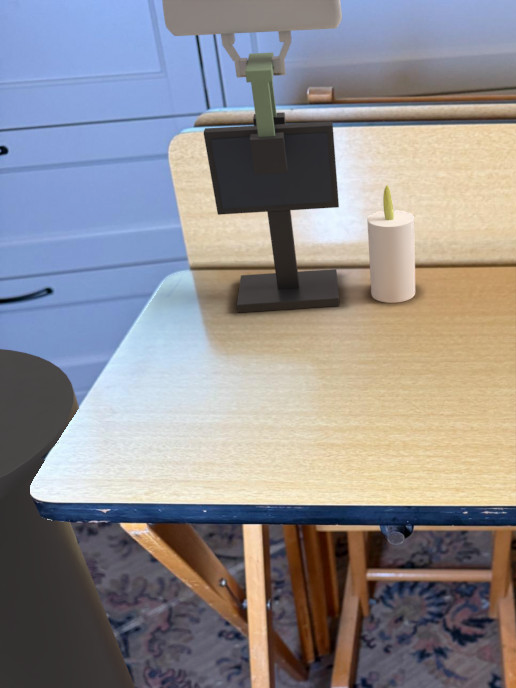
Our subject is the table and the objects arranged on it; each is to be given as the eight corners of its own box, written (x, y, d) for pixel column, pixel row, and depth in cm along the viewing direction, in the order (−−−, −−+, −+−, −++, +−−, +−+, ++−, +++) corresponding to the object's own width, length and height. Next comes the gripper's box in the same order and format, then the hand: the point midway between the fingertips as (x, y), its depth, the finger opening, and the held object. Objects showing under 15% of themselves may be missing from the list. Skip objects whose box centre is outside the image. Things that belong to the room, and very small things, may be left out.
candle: (421, 285, 115) (420, 176, 105) (407, 304, 110) (405, 192, 100) (380, 281, 116) (375, 173, 106) (364, 299, 112) (358, 189, 102)
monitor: (230, 313, 110) (200, 141, 95) (235, 283, 117) (207, 119, 103) (346, 305, 110) (333, 134, 96) (343, 276, 118) (331, 113, 103)
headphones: (254, 175, 97) (240, 73, 90) (258, 146, 106) (245, 52, 99) (287, 173, 97) (275, 71, 90) (288, 145, 106) (277, 50, 99)
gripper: (142, -62, 83) (171, 85, 93) (337, -70, 85) (346, 77, 94) (151, -67, 88) (177, 74, 97) (335, -75, 89) (344, 65, 98)
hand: (261, 75), depth 96 cm, fingers closed on headphones, 3 cm apart
